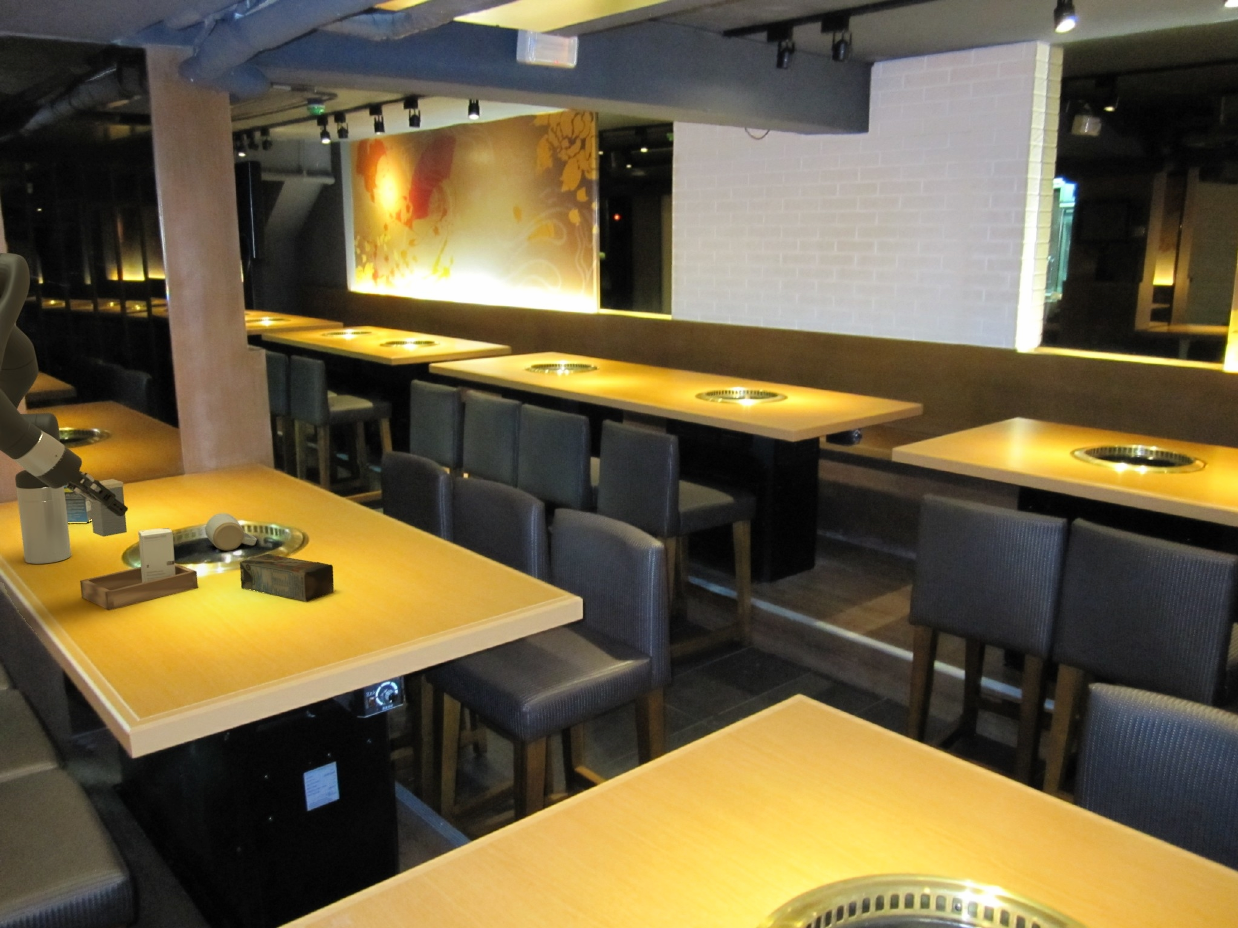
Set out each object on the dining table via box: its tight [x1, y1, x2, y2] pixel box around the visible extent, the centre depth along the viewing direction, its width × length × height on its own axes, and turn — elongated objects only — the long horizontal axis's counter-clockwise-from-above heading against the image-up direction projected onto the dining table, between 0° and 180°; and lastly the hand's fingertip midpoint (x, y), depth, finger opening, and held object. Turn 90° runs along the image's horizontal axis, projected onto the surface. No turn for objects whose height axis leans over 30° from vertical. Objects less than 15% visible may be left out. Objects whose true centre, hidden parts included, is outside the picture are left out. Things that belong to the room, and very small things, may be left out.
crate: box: [79, 563, 199, 611], centre depth 203 cm, size 12×18×4 cm, turn 141°
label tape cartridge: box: [64, 486, 92, 522], centre depth 258 cm, size 9×4×12 cm, turn 92°
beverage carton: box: [239, 553, 335, 602], centre depth 205 cm, size 8×19×7 cm, turn 61°
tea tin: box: [90, 478, 128, 537], centre depth 196 cm, size 5×5×10 cm
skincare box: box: [138, 527, 175, 583], centre depth 205 cm, size 6×4×12 cm
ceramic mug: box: [205, 512, 258, 552], centre depth 236 cm, size 11×8×8 cm
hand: (118, 510), depth 198 cm, fingers closed on tea tin, 4 cm apart
